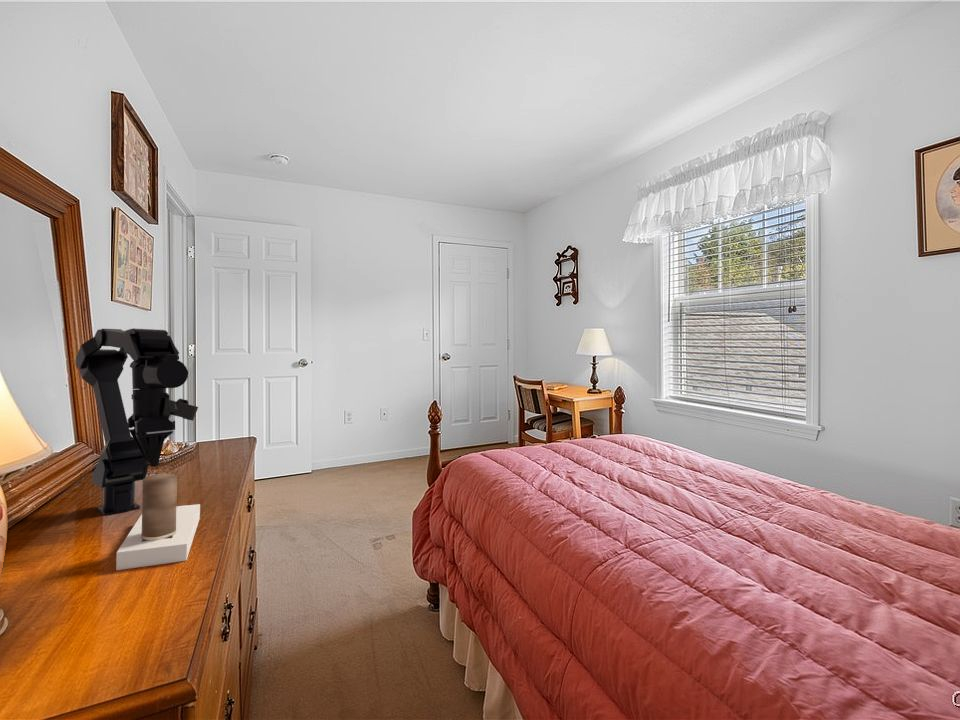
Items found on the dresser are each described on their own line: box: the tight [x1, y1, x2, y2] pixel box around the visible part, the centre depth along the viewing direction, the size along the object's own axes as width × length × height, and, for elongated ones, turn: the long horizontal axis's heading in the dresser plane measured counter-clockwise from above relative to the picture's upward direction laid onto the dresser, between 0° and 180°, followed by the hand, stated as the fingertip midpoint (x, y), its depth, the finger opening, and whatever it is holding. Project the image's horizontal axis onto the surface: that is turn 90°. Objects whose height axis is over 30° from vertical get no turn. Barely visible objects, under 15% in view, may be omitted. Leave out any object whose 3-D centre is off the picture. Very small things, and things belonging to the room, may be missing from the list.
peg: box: [141, 473, 178, 541], centre depth 86 cm, size 5×5×13 cm
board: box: [115, 503, 201, 571], centre depth 90 cm, size 22×10×3 cm, turn 26°
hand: (151, 463), depth 98 cm, fingers open, 9 cm apart
